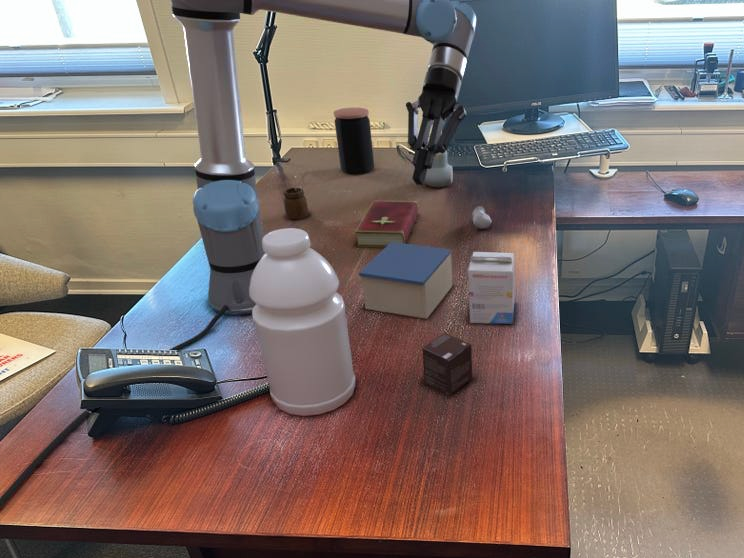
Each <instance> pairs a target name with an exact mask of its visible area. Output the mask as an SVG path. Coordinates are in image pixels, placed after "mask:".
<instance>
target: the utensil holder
mask: <svg viewBox="0 0 744 558" xmlns="http://www.w3.org/2000/svg"><path fill="white" fill-rule="evenodd" d="M276 174H277V175H276V176H277V177H278V179H279V182H280V184H281V186H282V188H283V197H284V198H283V205H284V211H285V215H286V217H287V219H289V220H302V219H305V218H306V217H308V216H309V208H308V201H307V198H306V196H305V191H304V189H303V187H296V184H294V187H289V188H286V187H285V185H284V183H283V181H282V179H281V177H280V175H279V172H276ZM297 177H298V174H296V175H295V176H294V180H296V178H297ZM300 177H301V178H300ZM300 180H301V181H300ZM300 182H301V183H303V177H302V175H301V174H299V177H298V184H300Z"/></svg>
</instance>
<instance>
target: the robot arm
mask: <svg viewBox="0 0 744 558" xmlns="http://www.w3.org/2000/svg"><path fill="white" fill-rule="evenodd" d="M170 4H171V11H172V17H173V18H174V19H175V20H176V21H178V22H179V23H180V24H181V26H182V27H183V33H184V40H185V41H184V42H185V48H186V56H187V64H188V71H189V79H190V85H191V86H190V87H191V94H192V101H193V109H194V116H195V122H196V129H197V136H198V145H199V150H200V158H199V159H198V160H197V162H196V163H194V172H195V173H194V174H195V179H196V187H197V190H196V191H195V192H194V194H193V196H192V204H193V206H192V209H193V214H194V217H195V219H196V221H197V225H198V228H199V232H200V235H201V239H202V243H203V247H204V251H205V254H206V259H207V262H208V266H209V270H210V271H209V282H208V291H207V296H208V302H209V305H210V308H211V309H212V310H213V311H215V312H217V313H216V314H215V315H214V316H213V318H211V320H210V321H209V323H208V324H207V325H206V327H205V328H204V329H203V330H202V331H200V332H199V333H198V334H196V335H195V336H193V337H191V338H189V339H188V340H185V341H184V342H181V343H179V344H177V345H175V346H173V347H172V348H169V350H178V351H181V350H183V349H184V348H187V347H189V346H191V345H192V344H194V343H196V342H198V341H200V340H201V339H203V338H204V337H205V336H206V335H208V333H209V332H210V331H211V330H212V328H213V327H214V326H215V324H217V322H218V321H219V320H220V318H221V317H222V316H223V315H227V316H247V315H252V310H253V308H254V307H255V305H256V303H255V302H254V301H253V300H252V299H251V298H250V296H249V286H250V280H251V276H252V273H253V271H254V269H255V267H256V265H257V264H258V262H259V261H260V260H261V258H262V257H263V255H264V254H265V252H264V251H263V246H262V239H263V237H264V236H265V232H264V227H263V221H262V216H261V211H260V203H259V198H258V191H257V182H256V172H255V164H254V163H253V162H252V161H251V160H249V159H248V158H247V156H246V148H245V147H246V146H245V136H244V127H243V116H242V108H241V107H242V106H241V98H240V97H241V96H240V87H239V77H238V69H237V68H238V66H237V55H236V47H235V37H234V28H235V27H236V26H237V25H238V24H239V23H240V21H241V14H244V15H250V16H254V15H255V14H256V13H257V12H259V11H265V12H272V13H277V14H284V15H289V16H296V17H302V18H306V19H312V20H319V21H326V22H332V23H336V24H337V23H338V24H343V25H349V26H355V27H361V28H366V29H367V28H368V29H372V30H379V31H384V32H391V33H397V34H402V35H406V36H412V37H419V38H422V39H423V40H425V41H426V42H429V43H430V44H432V50H431V55H430V58H429V61H428V64H427V70H426V73H425V76H424V81H423V85H422V90H421V94H420V95H419V96H418V98H417V100H416V101H414V102H412V103H411V102H410V101H407V102H406V103H405V108H406V111H407V113H408V114H407V115H408V116H407V118H408V119H407V124H408V125H407V144H408V146H409V148H411V150H412V152H413V151H414V154H413V158H412V161H411V162H412V165H413V167H414V169H413V174H412V178H411V179H412V181H413V182H414V183H415V185H417V186H424V185H425V183H424V181H425V177H426V173H427V169H431V168H432V165H433V161H434V157H435V155H436V154H437V153H442V154H443V153H445V151H447V149H448V148H449V145H450V143H451V141H452V139H453V137H454V135H455V133H456V132H457V130H458V127H459V126H460V124H461V123H462V121H463V120H465V118H466V117H467V112H466V110H465V107H464V106H463V105H459V101H458V98H459V95H460V91H461V88H462V82H463V79H464V74H465V71H466V67H467V62H468V58H469V54H470V50H471V47H472V43H473V40H474V37H475V32H476V25H477V15H476V13H475V11H474V9H473V8H472V7H471V6H470V5H469V4H467V3H465V2H462V3H461V1H459V0H170ZM420 109H421V112H422V115H421V116H422V119H421V122H420V127H419V126H418V125H419V124H418V123H419V122H418V120H419V119H418V118H419V117H418V115H419V112H420ZM448 117H449V118H448ZM447 118H448V121H447V123H446V120H447ZM418 128H419V129H418ZM426 148H427V149H426ZM86 410H87V409H85V410H84V411H83V412H82V413H81V414H80V415H79V416H77V417H76V418H75V419H74V420H73V421H72V422H71V423H70V424H69V425H68V426H66V427H65V428H64V429H63V430H62V431H61V432H60V433H59V434H58V435H57V436H56V437H55V438H54V439H53V440H52V441H51V442H50V443H49V444H48V445H47V446H46V447H45V448H43V450H42V451H41V452H40V454H38V455H37V456H36V457H35V458H34V459H33V461H32V462H31V463H30V464H29V465H27V467H26V468H25V469H24V470H23V471H22V472H21V474H19V476H18V477H17V478H16V479H15V481H14V482H13V483H12V484H11V485H10V486H9V487H8V489H6V490H5V491H4V493H2V495H0V509H1V508H2V507H4V505H5V504H6V503H7V501H8V500H9V499H10V498H11V497H12V496H13V495H14V494H15V492H16V491H18V489H19V488H20V487H21V486H22V484H23V483H24V482H25V481H26V480H27V478H29V477H30V475H31V474H32V473H33V472H34V471H35V470H36V469H37V468H38V466H40V464H41V463H43V461H44V460H45V459H46V458H47V457H48V456H49V455H50V454H51V453H52V451H53V450H55V448H56V447H57V446H58V445H60V443H61V442H62V441H63V440H64V439H66V437H68V436H69V434H71V433H72V432H73V431H74V430H75V429H76V428H77V427H78V426H79V425H80V424H81V423H82V422H83V421H85V419H86V418H88V417H89V416H90V415H91V414H90V413H89V412H87V411H86Z"/></svg>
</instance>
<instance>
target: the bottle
mask: <svg viewBox="0 0 744 558" xmlns="http://www.w3.org/2000/svg"><path fill="white" fill-rule="evenodd" d="M311 245H312V243H311V239H310V236H309V234H308V232H306V231H305V230H303V229H301V228H296V227H295V228H294V227H293V228H291V227H289V228H280V229H275V230H272V231H270V232H268V233H266V234H264V237H263V239H262V246H263V251H264V252H265V254H264V255H263V257H262V258H261V260H260V261H259V262H258V264H257V265H256V267H255V269H254V271H253V273H252V276H251V280H250V286H249V296H250V298H251V299H252V300H253V301H254V302H255V303H256V305H255V307H254V308H253V310H252V314H251V315H252V322H253V325H254V328H255V333H256V337H257V340H258V344H259V349H260V353H261V357H262V362H263V366H264V369H265V373H266V379H267V382H268V386H269V393H270V397H271V400H272V402H273V403H274V405H276V407H278V409H279V410H281V411H283V412H285V413H287V414H290V415H295V416H303V417H307V416H316V415H321V414H325V413H328V412H331V411H334V410H336V409H338V408H339V407H341V406H343V405H344V404H346V403H347V402H348V400H349V399H351V397H352V396H353V395H354V391H355V388H356V375H355V372H354V365H353V364H354V363H353V358H352V349H351V343H350V338H349V329H348V322H347V315H346V313H347V312H346V305H345V301H344V299H343V296H342V295H341V294H340V293H339V292H337V291H338V288H339V286H340V280H339V276H338V275H337V273H336V272H335V270H334V267H333V266H332V264H330V262H329V261H328V260H327V259H326V258H325V257H324V256H323V255H322V254H320V253H319V252H317V251H316V250H315V249H313V248H312V247H311Z"/></svg>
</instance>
